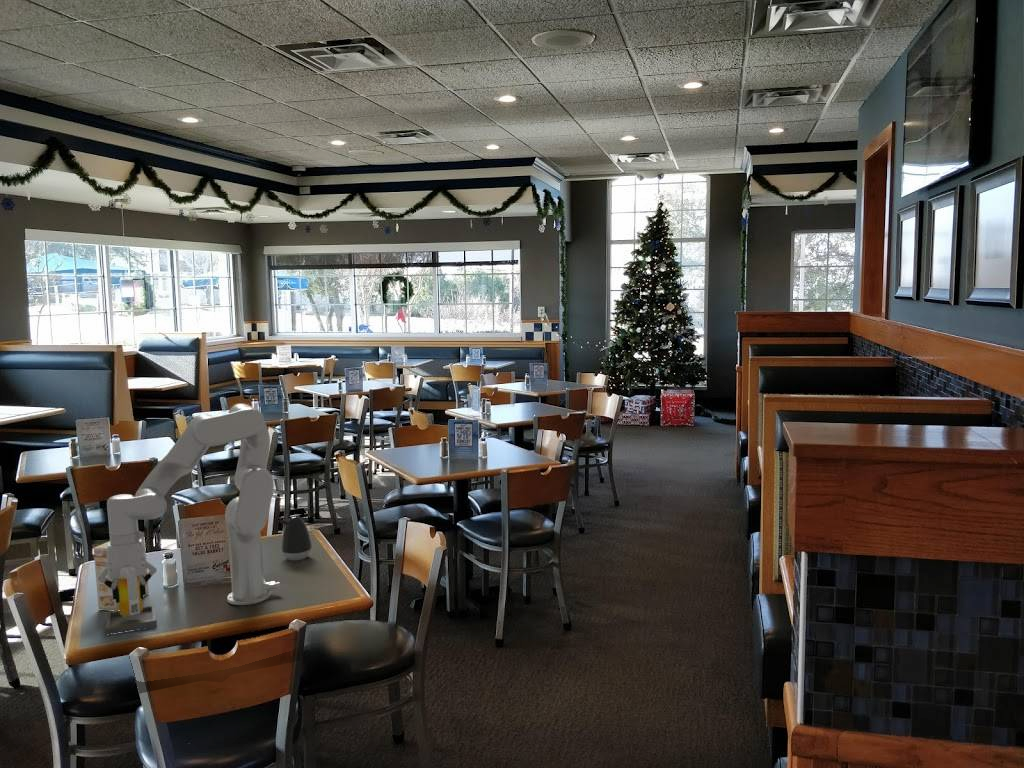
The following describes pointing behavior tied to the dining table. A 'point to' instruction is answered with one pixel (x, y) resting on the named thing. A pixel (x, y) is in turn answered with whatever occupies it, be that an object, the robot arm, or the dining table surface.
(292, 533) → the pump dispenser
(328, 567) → the dining table surface
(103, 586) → the coffeecake box
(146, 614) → the tray
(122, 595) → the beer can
